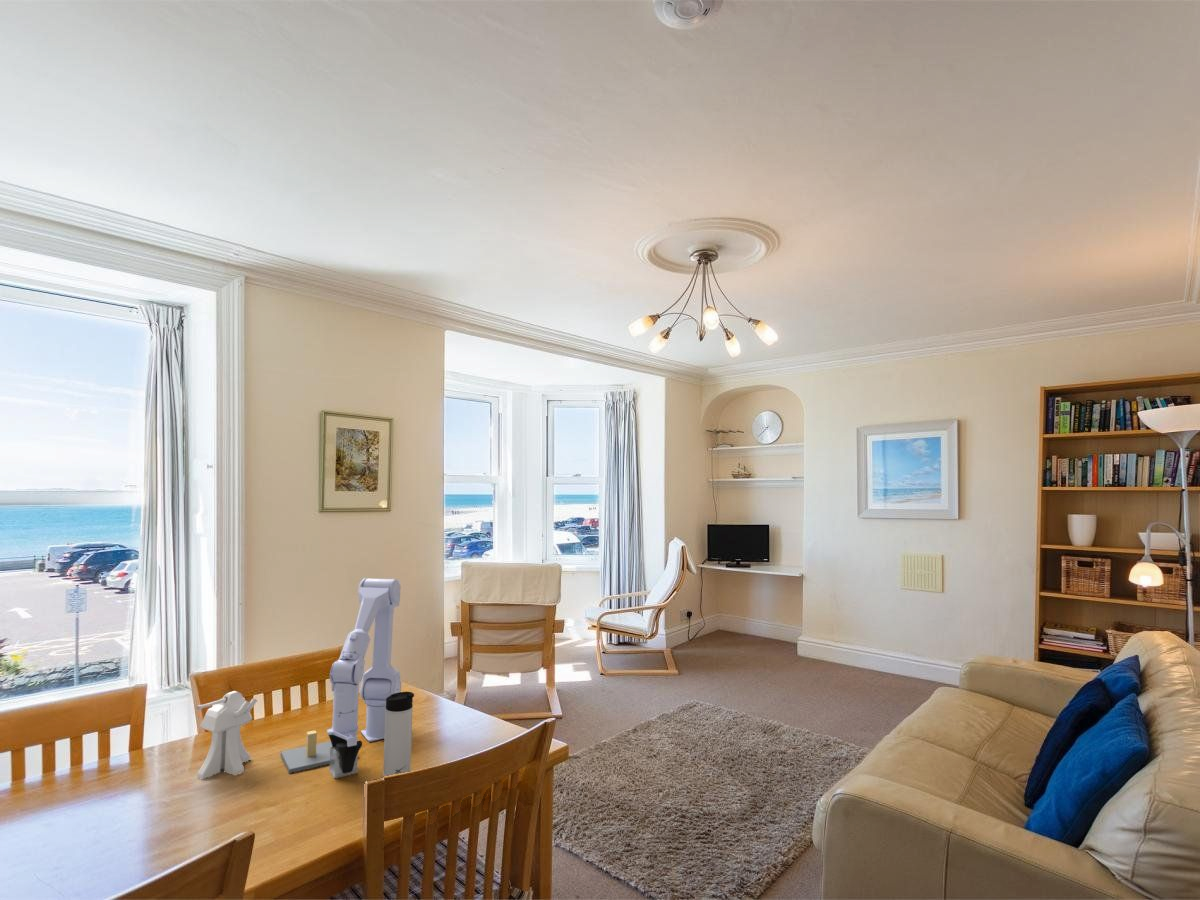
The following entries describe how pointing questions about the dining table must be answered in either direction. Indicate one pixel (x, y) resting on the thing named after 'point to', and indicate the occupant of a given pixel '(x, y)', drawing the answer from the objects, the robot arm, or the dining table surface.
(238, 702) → the white mech figurine
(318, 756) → the board
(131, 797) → the dining table surface
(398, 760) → the travel mug
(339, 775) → the block
